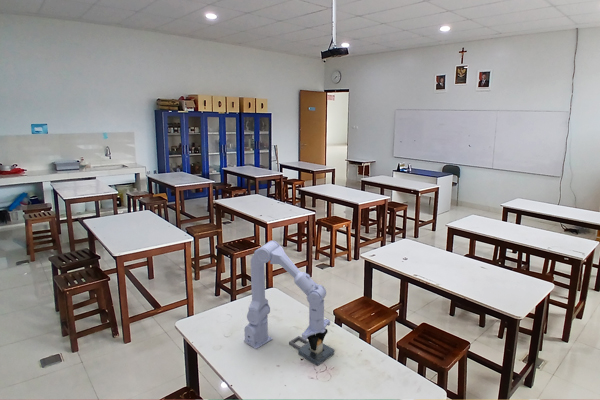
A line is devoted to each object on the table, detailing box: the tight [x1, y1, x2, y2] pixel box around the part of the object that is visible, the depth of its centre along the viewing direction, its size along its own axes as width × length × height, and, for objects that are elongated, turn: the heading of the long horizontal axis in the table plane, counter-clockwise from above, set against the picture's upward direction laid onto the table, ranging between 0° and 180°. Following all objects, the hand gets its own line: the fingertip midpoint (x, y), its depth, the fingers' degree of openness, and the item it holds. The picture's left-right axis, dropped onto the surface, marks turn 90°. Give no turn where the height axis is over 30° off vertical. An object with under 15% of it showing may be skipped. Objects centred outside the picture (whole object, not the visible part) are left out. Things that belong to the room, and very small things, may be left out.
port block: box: [297, 343, 335, 366], centre depth 152 cm, size 10×10×2 cm
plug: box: [310, 338, 324, 355], centre depth 152 cm, size 3×4×6 cm
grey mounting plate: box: [288, 335, 309, 351], centre depth 158 cm, size 6×7×1 cm
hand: (316, 347), depth 152 cm, fingers closed on plug, 3 cm apart
